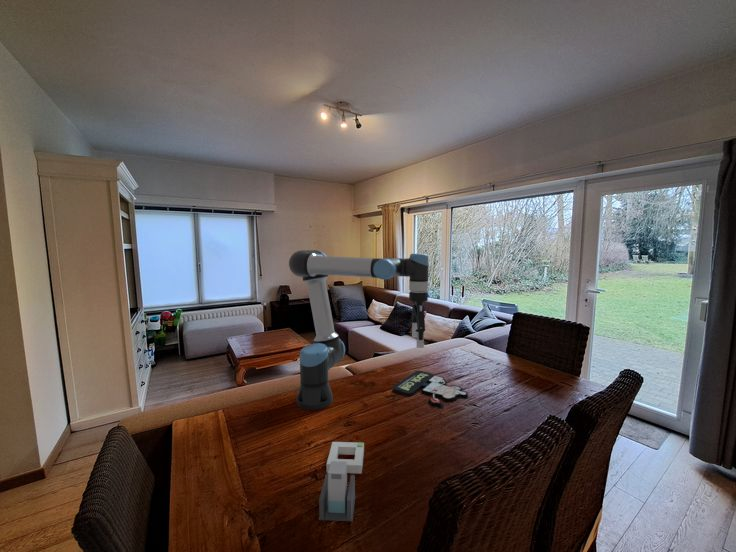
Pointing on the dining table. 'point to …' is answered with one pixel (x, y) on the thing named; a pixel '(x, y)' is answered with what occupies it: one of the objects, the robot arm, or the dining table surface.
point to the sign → (429, 388)
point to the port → (349, 449)
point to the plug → (337, 487)
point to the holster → (349, 506)
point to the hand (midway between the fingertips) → (417, 342)
